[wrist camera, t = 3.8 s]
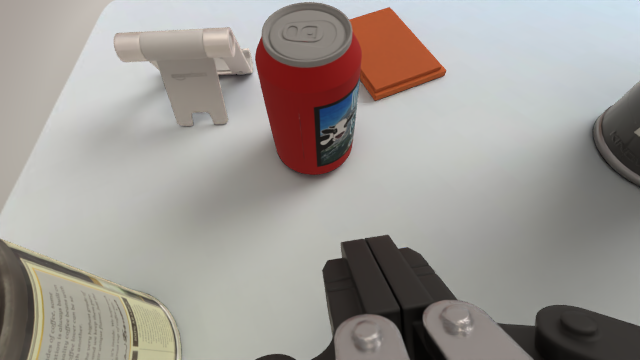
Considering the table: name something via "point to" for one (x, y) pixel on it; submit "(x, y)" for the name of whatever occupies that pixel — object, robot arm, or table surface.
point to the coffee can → (76, 314)
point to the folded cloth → (392, 55)
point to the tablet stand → (189, 66)
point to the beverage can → (310, 84)
